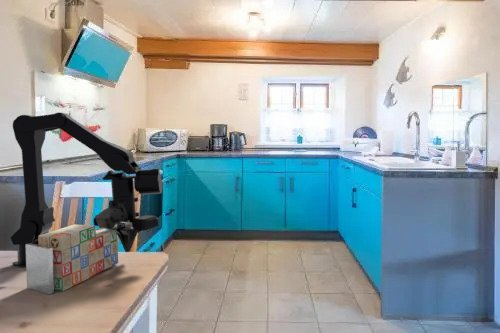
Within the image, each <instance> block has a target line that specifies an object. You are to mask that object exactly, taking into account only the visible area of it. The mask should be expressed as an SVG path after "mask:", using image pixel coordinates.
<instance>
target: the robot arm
mask: <svg viewBox="0 0 500 333" xmlns="http://www.w3.org/2000/svg"><path fill="white" fill-rule="evenodd" d="M12 130H13V134H14V139H15V140H16V142H17V144H18V145H19V148H20V149H21V159H22V160H21V161H22V172H23V173H22V174H23V187H24V188H23V190H24V198H25V199H24V202H25V203H24V207H23V210H22V212H21V215H20V224H19V229H17V230H16V231H15V232H14V233H13V234H12V235H11V236H10V240H11V242H12V245H14V246H16V247H17V261H13V262H12V264H11V265H13V266H17V267H21V268H24V269H25V268H26V244H29V243H30V244H35V245H39V243H38V236H39V235H42V234H46V233H48V232H49V231H50V230H51V229H52V227H53V223H54V222H56V219H55V216H54V210H55V209H54V206H50V207H49V206H48V204H47V203H46V200H45V197H46V196H45V185H44V171H43V159H42V158H43V155H42V148H43V145H44V142H45V140H46V132H51V131H55V130H61V131H63V132H64V133H66V134H67V135H69V136H71V137H72V138H74V139H75V140H77V141H78V142H79V143H81V144H82V145H84V146H86V147H87V148H89V149H90V150H92V151H93V152H94V153H96V155H97V156H98V157H99V158H100V159H101V161H102V162H104V164H106V166H108V167H109V169H111V170H108V171H107V172H106V174H105V175H104V176H103V177H102V180H103V181H110V182H111V184H110V185H111V196H112V199H111V200H109V201H108V207H107V208H105V209H104V210H102V211H101V212H99V213H97V214H96V215H94V218H93V225H95V227H98V229H113V230H117V238H118V239H119V241H120V243H121V246H122V248H123V249H124V251H125V252H126V253H129V252H131V250H132V247H133V245H134V242H135V239H136V237H137V235H138V233H139V232H140V231H148V230H151V229H153V228H156V227H159V218H158V217H157V216H156V215H147V214H145V215H142V216H140V212H139V211H138V212H136V203H137V202H139V197H135V191H136V192H137V193H139V195H157V194H162V192H163V179H162V176H161V172H160V168H157V167H156V168H152V169H142V168H141V167H140V165H138V163H137V162H136V161H135V160H134V159H135V157H134V154H133V152H131V150H129V149H127V148H125V147H122V146H120V145H117V144H115V143H112V142H110V141H107V140H106V139H104V138H103V137H102V136H99V135H98V134H97V133H95V132H93V130H91V129H89V128H88V127H86V126H85V125H83V124H82V123H80V122H79V121H78V120H76V119H74V118H73V117H72V116H71V115H70V114H68V113H64V112H55V113H52V114H44V115H36V116H35V115H30V114H21V115H18V116H17V117H16V118H15V119H14V120H13V122H12ZM114 171H115V172H114ZM120 171H121V172H120Z"/></svg>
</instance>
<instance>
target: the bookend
mask: <svg viewBox="0 0 500 333" xmlns="http://www.w3.org/2000/svg"><path fill="white" fill-rule="evenodd" d="M25 272H26V289H29V290H32V291H36V292H39V293H43V294H46V295H53V294H54V293H55V290H54V284H53V248H50V247H45V246H40V245H35V244H30V243H29V244H26V271H25Z"/></svg>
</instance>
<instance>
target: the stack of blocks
mask: <svg viewBox="0 0 500 333" xmlns="http://www.w3.org/2000/svg"><path fill="white" fill-rule="evenodd" d="M38 243H39V245H40V246H45V247H50V248H53V284H54V291H59V292H64V291H66V290H68V289H70V288H72V287H74V286H76V285H78V284H80V283H82V282H84V281H86V280H88V279H90V278H92V277H93V276H95V275H97V274H100V273H101V272H103V271H105V270H107V269H110V268H111V267H114V266H115V265H117V264H118V263H119V253H118V252H119V249H118V248H119V245H118V244H119V242H118V235H117V230H113V229H107V228H96V226H95V225H94V224H93V225H90V224H89V225H88V224H71V225H68V226H65V227H61V228H59V229H56V230H53V231H50V232H49V231H48V232H47V233H46V234H42V235H39V236H38Z"/></svg>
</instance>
